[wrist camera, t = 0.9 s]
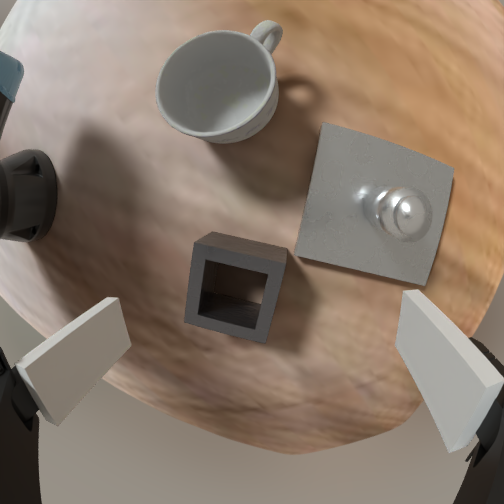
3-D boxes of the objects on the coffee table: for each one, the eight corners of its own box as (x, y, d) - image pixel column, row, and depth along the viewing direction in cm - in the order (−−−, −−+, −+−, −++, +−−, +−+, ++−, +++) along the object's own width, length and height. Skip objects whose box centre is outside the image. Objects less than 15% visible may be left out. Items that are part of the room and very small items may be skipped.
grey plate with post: (294, 251, 29) (294, 281, 20) (321, 125, 26) (334, 97, 17) (419, 281, 28) (458, 315, 19) (447, 168, 25) (496, 166, 15)
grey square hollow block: (201, 299, 32) (184, 322, 27) (212, 231, 30) (194, 242, 24) (270, 316, 32) (265, 343, 26) (287, 248, 30) (286, 263, 24)
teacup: (223, 169, 28) (199, 163, 21) (167, 103, 27) (132, 83, 20) (323, 92, 25) (333, 62, 17) (259, 32, 24) (249, -6, 16)
